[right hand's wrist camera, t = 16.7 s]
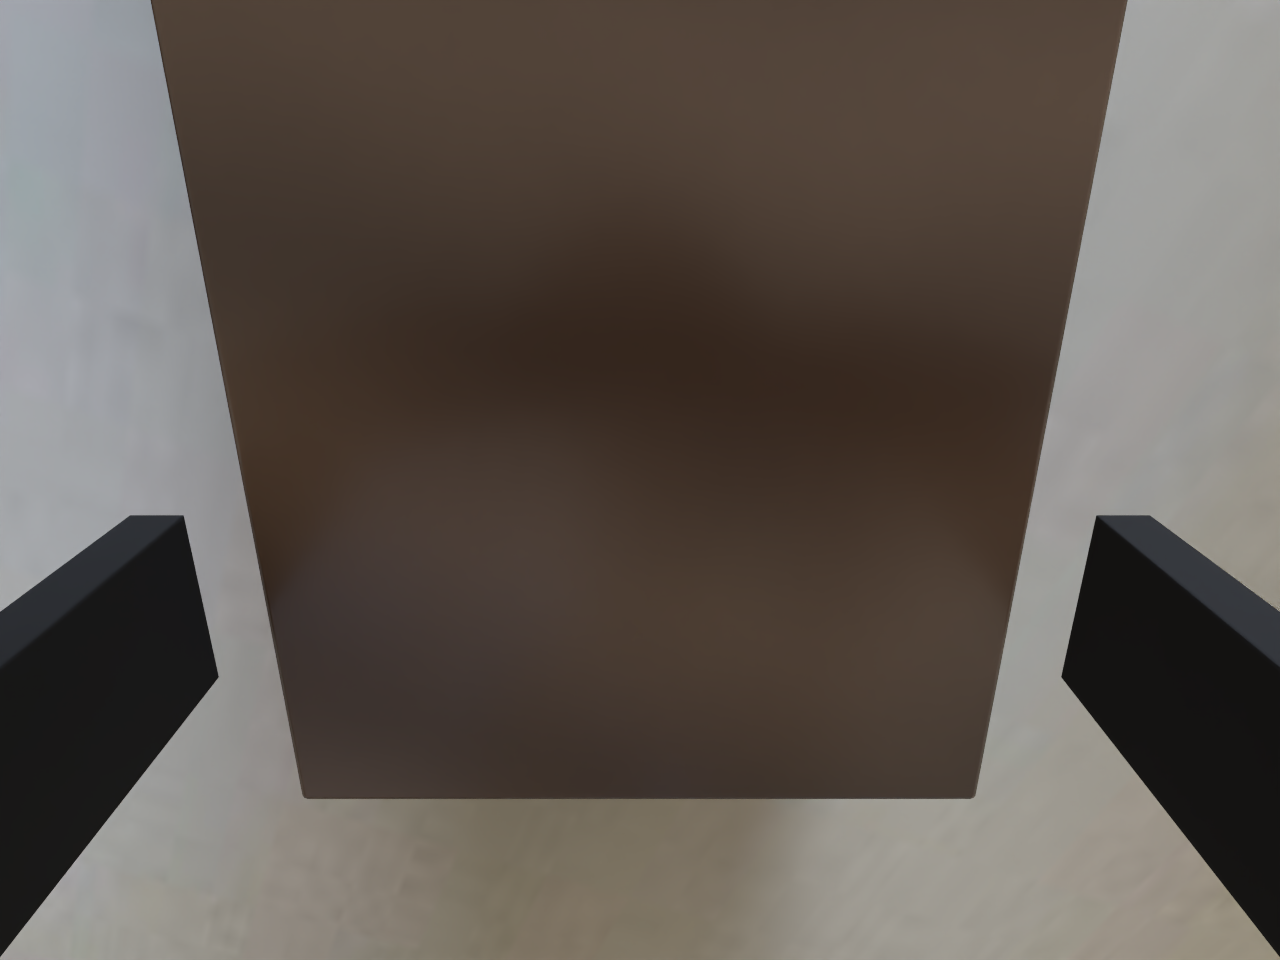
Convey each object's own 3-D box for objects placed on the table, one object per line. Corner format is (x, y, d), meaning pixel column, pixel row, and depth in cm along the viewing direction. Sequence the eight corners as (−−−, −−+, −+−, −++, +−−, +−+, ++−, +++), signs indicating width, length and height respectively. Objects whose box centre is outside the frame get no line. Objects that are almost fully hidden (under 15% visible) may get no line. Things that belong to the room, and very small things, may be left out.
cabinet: (330, -242, 16) (31, -600, 8) (948, -242, 16) (1246, -598, 8) (419, 565, 22) (301, 801, 14) (858, 566, 22) (976, 801, 14)
